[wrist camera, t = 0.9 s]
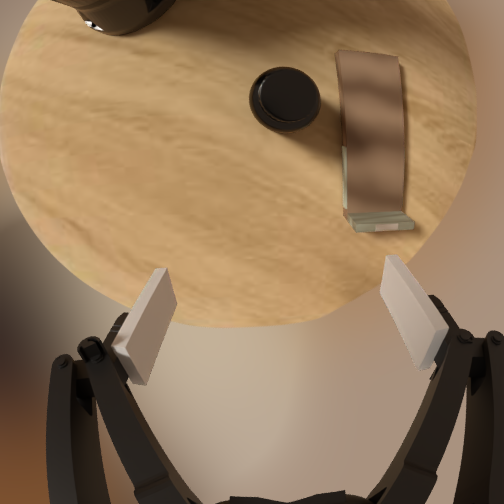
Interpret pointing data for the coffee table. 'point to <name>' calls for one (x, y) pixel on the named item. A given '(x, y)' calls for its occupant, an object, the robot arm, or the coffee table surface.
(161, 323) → the robot arm
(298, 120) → the supplement bottle
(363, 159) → the rail flange
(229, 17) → the coffee table surface
